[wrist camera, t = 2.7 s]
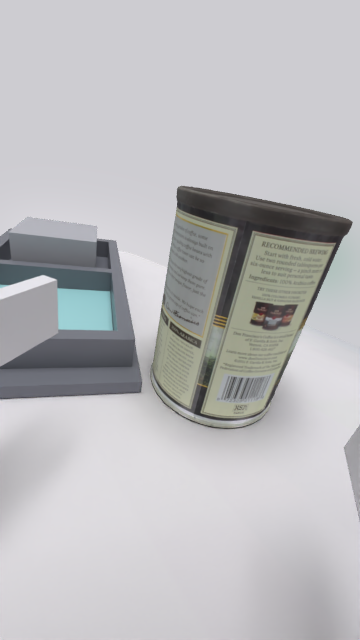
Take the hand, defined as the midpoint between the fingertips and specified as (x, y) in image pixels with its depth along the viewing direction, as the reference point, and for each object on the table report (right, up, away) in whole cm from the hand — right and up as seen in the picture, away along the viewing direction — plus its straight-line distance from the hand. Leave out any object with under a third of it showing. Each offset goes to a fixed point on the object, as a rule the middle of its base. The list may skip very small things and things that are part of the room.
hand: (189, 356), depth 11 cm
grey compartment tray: (-15, +4, +20) cm, 25 cm away
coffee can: (+2, -4, +12) cm, 13 cm away
